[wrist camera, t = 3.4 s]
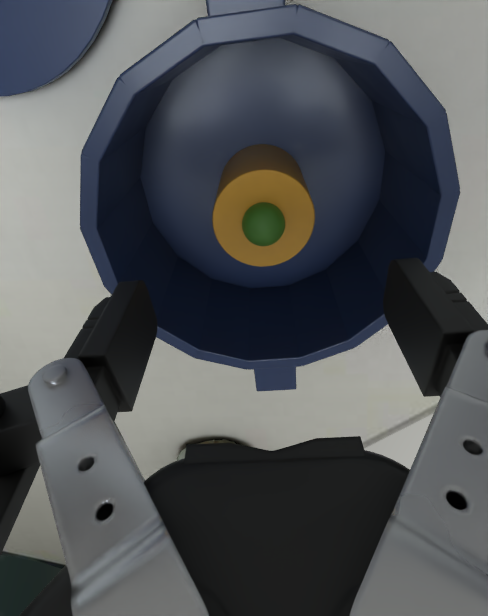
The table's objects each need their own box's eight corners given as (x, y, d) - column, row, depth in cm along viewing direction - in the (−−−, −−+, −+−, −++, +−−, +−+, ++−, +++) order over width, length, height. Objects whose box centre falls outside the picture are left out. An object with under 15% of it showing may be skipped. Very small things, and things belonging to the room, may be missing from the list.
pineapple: (302, 138, 19) (320, 172, 14) (303, 223, 22) (318, 275, 17) (213, 149, 19) (200, 184, 14) (226, 231, 22) (218, 283, 17)
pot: (429, -91, 14) (562, -191, 8) (372, 312, 26) (407, 393, 20) (69, -34, 15) (-51, -83, 9) (175, 326, 27) (153, 406, 21)
